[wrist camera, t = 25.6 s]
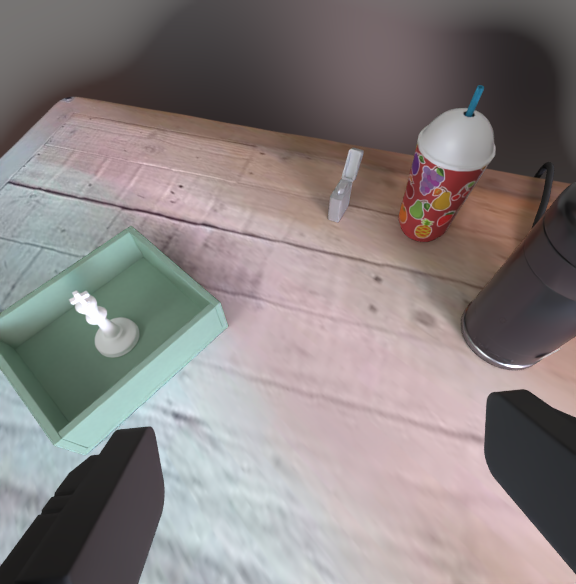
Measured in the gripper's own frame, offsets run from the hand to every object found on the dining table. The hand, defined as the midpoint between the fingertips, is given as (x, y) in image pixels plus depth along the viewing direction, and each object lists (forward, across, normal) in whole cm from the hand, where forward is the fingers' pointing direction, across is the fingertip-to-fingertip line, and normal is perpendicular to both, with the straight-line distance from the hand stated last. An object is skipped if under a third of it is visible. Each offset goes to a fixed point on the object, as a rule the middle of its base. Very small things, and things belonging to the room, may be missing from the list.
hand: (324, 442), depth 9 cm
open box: (+35, +20, +8) cm, 41 cm away
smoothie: (+45, -21, -1) cm, 49 cm away
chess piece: (+34, +19, +8) cm, 40 cm away
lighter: (+48, -10, -5) cm, 50 cm away
